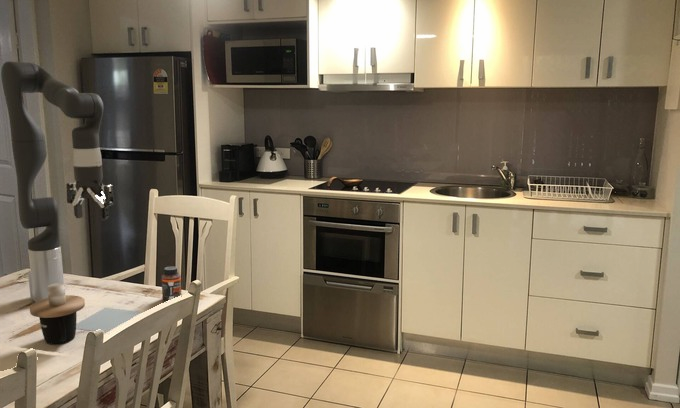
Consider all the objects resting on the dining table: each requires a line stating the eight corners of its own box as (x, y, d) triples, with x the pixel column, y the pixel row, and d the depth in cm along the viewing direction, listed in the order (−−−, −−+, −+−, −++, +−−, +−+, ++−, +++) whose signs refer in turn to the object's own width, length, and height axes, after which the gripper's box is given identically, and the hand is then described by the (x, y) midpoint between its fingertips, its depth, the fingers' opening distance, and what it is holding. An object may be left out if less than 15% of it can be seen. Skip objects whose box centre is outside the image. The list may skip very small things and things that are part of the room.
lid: (18, 314, 145) (15, 291, 143) (54, 297, 157) (52, 276, 156) (62, 319, 142) (59, 296, 140) (95, 301, 154) (93, 280, 153)
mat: (69, 330, 160) (69, 327, 160) (105, 310, 175) (105, 307, 175) (118, 336, 156) (118, 333, 156) (151, 315, 171) (151, 312, 171)
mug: (39, 339, 154) (36, 304, 152) (75, 332, 159) (72, 298, 157) (45, 356, 144) (42, 319, 142) (83, 348, 149) (80, 311, 147)
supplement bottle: (176, 305, 179) (174, 271, 177) (159, 304, 180) (157, 270, 178) (185, 299, 185) (183, 265, 183) (168, 297, 186) (166, 264, 184)
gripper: (57, 164, 160) (62, 220, 163) (100, 166, 157) (104, 223, 160) (75, 161, 167) (79, 214, 170) (117, 163, 164) (121, 217, 167)
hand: (91, 218), depth 165 cm, fingers open, 8 cm apart
